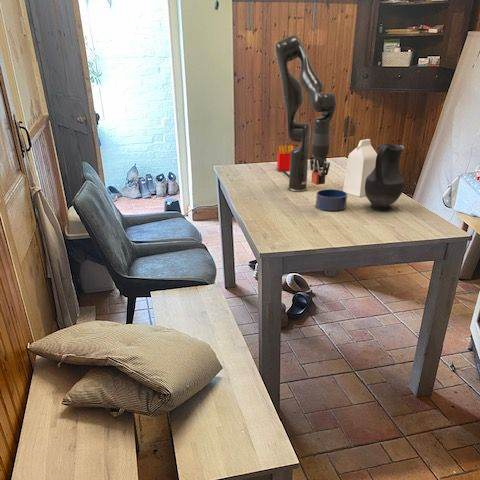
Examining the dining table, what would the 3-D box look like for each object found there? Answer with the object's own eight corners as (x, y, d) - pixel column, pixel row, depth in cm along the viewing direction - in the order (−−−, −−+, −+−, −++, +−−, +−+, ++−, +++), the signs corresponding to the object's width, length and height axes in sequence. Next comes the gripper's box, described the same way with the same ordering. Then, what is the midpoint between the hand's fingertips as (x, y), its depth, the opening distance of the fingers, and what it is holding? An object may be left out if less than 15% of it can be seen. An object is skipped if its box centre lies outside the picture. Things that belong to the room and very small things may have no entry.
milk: (359, 196, 252) (365, 143, 239) (342, 191, 260) (348, 139, 247) (375, 192, 258) (382, 140, 245) (358, 187, 266) (364, 136, 253)
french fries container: (276, 168, 302) (277, 144, 295) (291, 168, 303) (292, 144, 296) (279, 171, 296) (280, 147, 289) (294, 171, 297) (295, 146, 290)
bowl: (310, 204, 241) (311, 191, 238) (335, 201, 246) (336, 188, 243) (325, 213, 230) (327, 199, 227) (351, 209, 235) (353, 195, 231)
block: (311, 182, 226) (311, 172, 223) (319, 181, 227) (320, 171, 225) (316, 185, 222) (316, 174, 220) (324, 183, 224) (325, 173, 221)
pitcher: (404, 206, 238) (415, 141, 222) (389, 218, 223) (400, 149, 208) (370, 200, 246) (378, 137, 231) (353, 212, 231) (360, 145, 216)
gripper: (305, 141, 220) (303, 179, 229) (321, 147, 209) (318, 187, 218) (320, 139, 223) (317, 177, 231) (337, 145, 211) (333, 185, 220)
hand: (318, 182), depth 224 cm, fingers closed on block, 4 cm apart
